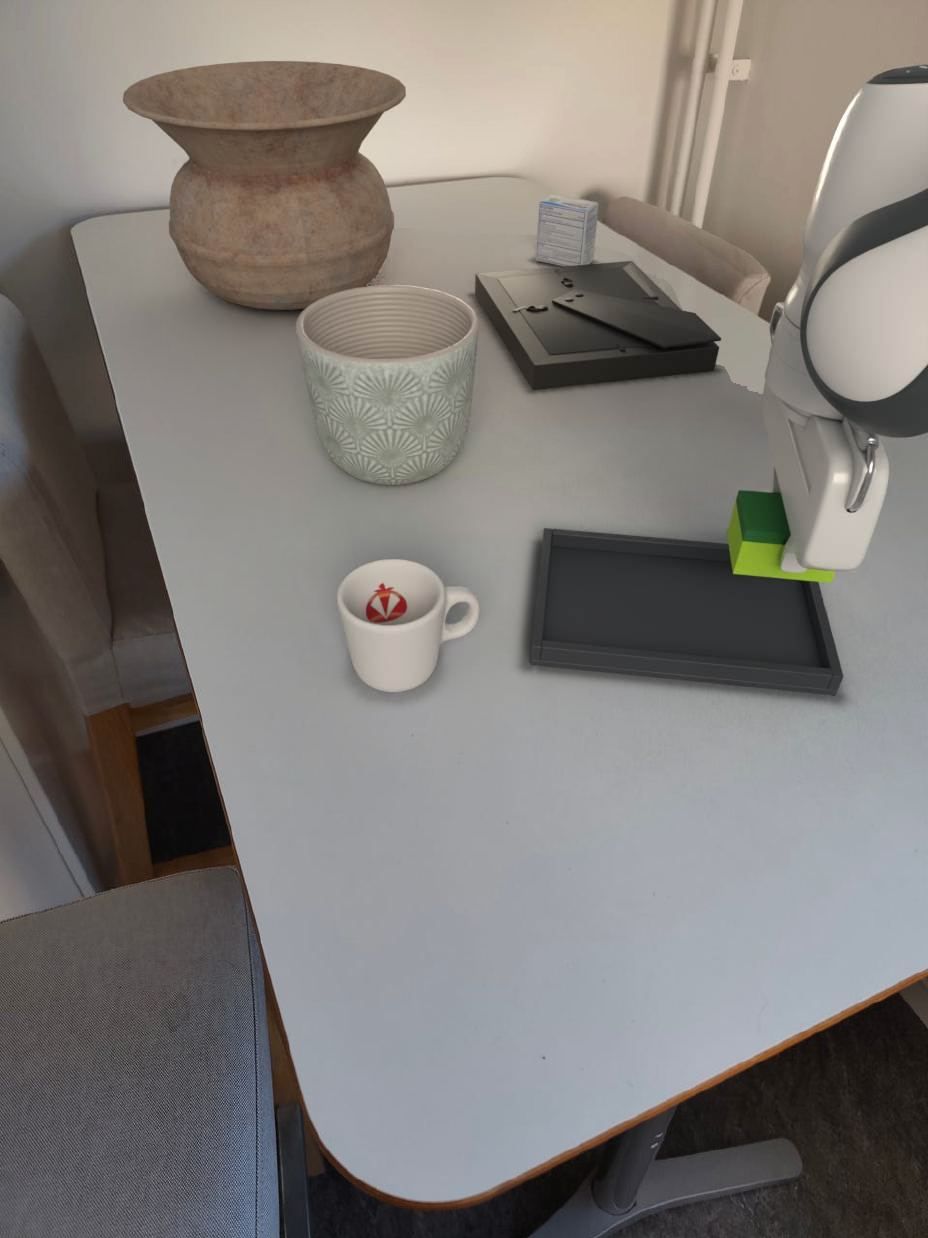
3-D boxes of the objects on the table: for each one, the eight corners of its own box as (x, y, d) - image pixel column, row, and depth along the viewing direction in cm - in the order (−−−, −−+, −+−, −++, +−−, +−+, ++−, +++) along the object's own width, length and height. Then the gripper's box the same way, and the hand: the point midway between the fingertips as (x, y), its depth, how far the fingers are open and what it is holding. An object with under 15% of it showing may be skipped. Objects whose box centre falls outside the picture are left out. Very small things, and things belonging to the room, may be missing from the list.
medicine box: (593, 262, 132) (600, 201, 126) (581, 271, 129) (587, 210, 124) (547, 252, 135) (551, 192, 129) (534, 261, 132) (538, 201, 127)
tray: (803, 568, 78) (810, 550, 77) (835, 695, 67) (844, 677, 65) (542, 545, 80) (543, 527, 79) (529, 665, 69) (531, 646, 67)
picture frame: (714, 370, 106) (629, 282, 127) (721, 338, 104) (633, 252, 124) (532, 389, 102) (475, 295, 123) (535, 356, 99) (475, 265, 120)
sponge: (819, 540, 66) (835, 497, 63) (831, 583, 63) (849, 539, 60) (726, 532, 67) (738, 489, 64) (732, 574, 63) (745, 530, 60)
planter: (366, 406, 99) (356, 272, 89) (502, 442, 93) (508, 303, 83) (280, 480, 88) (257, 336, 77) (428, 526, 82) (425, 378, 72)
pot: (320, 232, 141) (302, 50, 124) (461, 295, 122) (463, 92, 106) (124, 285, 124) (72, 83, 107) (254, 369, 105) (217, 140, 88)
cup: (461, 618, 73) (462, 542, 67) (493, 684, 67) (497, 607, 62) (335, 645, 70) (325, 568, 65) (357, 716, 65) (349, 639, 59)
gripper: (940, 456, 46) (857, 641, 56) (862, 300, 61) (806, 467, 71) (819, 446, 47) (757, 631, 56) (771, 294, 62) (728, 460, 71)
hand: (784, 538), depth 64 cm, fingers closed on sponge, 5 cm apart
